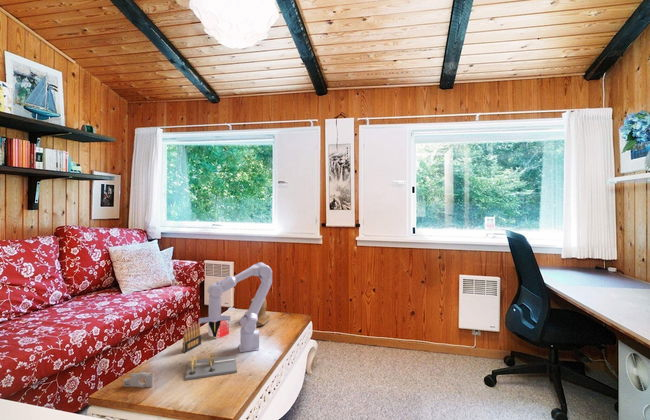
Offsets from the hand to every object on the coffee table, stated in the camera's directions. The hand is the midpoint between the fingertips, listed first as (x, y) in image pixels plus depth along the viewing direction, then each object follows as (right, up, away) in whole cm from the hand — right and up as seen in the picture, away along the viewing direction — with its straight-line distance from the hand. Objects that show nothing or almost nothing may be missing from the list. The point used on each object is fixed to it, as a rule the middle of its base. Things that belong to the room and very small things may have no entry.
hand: (214, 336), depth 156 cm
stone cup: (+13, -8, +43) cm, 45 cm away
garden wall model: (-22, -10, -26) cm, 35 cm away
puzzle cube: (-6, -9, +24) cm, 26 cm away
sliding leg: (+2, -8, -12) cm, 15 cm away
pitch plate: (+3, -10, -11) cm, 15 cm away
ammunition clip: (-14, -9, +7) cm, 18 cm away
